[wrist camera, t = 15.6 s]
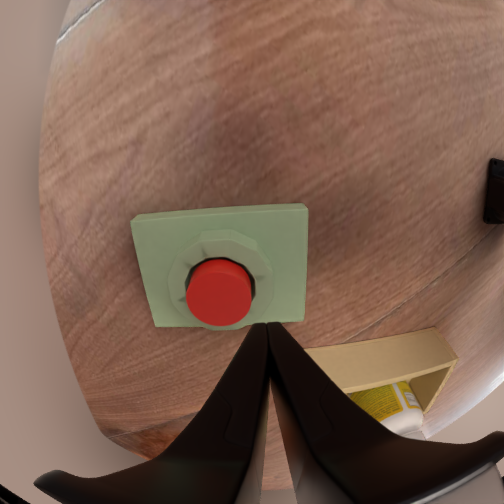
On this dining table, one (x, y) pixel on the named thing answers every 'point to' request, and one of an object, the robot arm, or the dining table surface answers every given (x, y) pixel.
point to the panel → (225, 258)
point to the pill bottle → (392, 408)
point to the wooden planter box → (391, 363)
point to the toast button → (219, 293)
